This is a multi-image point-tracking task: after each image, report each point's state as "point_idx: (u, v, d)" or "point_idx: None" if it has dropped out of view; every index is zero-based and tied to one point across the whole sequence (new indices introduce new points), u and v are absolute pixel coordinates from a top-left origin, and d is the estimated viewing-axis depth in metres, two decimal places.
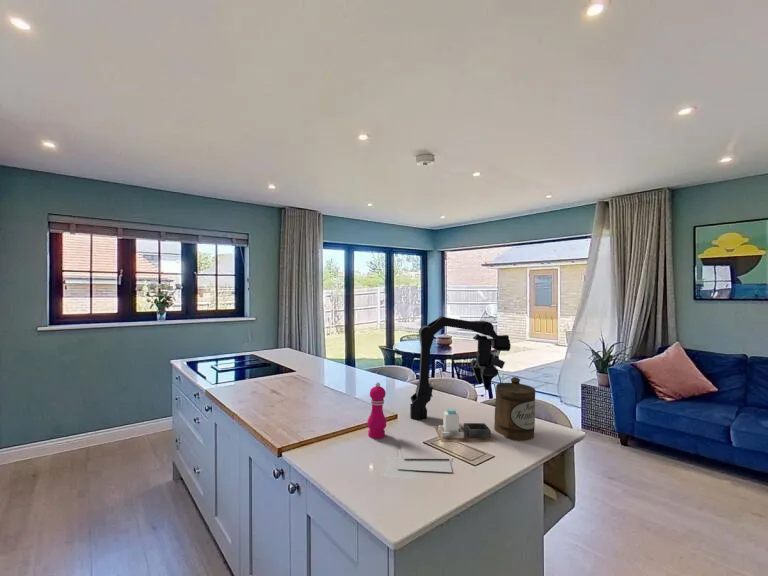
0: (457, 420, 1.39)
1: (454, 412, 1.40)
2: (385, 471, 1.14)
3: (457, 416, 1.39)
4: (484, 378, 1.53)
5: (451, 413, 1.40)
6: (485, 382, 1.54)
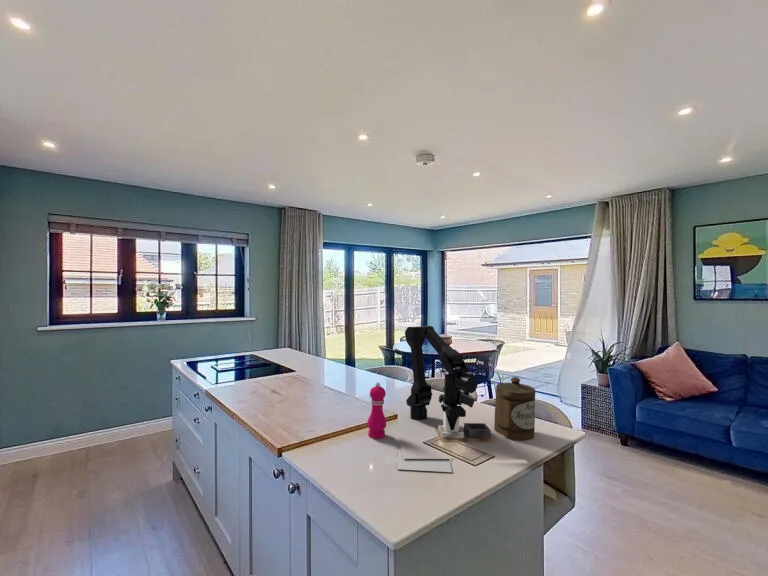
0: (457, 420, 1.39)
1: None
2: None
3: None
4: (449, 417, 1.37)
5: None
6: (450, 421, 1.38)
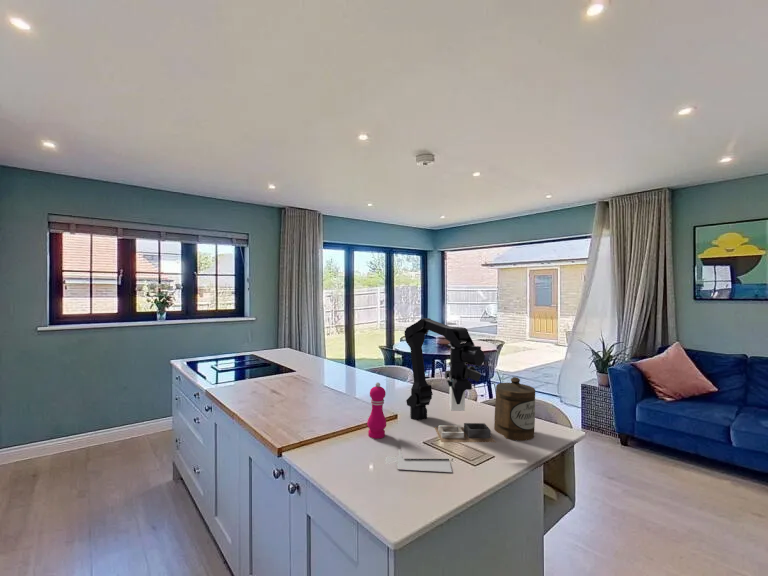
0: (463, 394, 1.39)
1: None
2: None
3: None
4: (455, 391, 1.37)
5: None
6: (456, 395, 1.38)
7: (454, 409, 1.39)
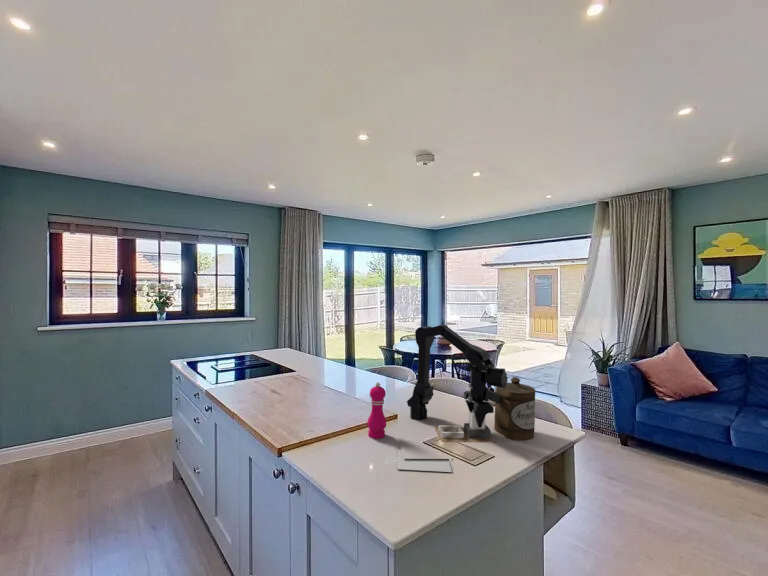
0: None
1: None
2: None
3: None
4: (477, 414, 1.37)
5: None
6: (478, 419, 1.37)
7: None
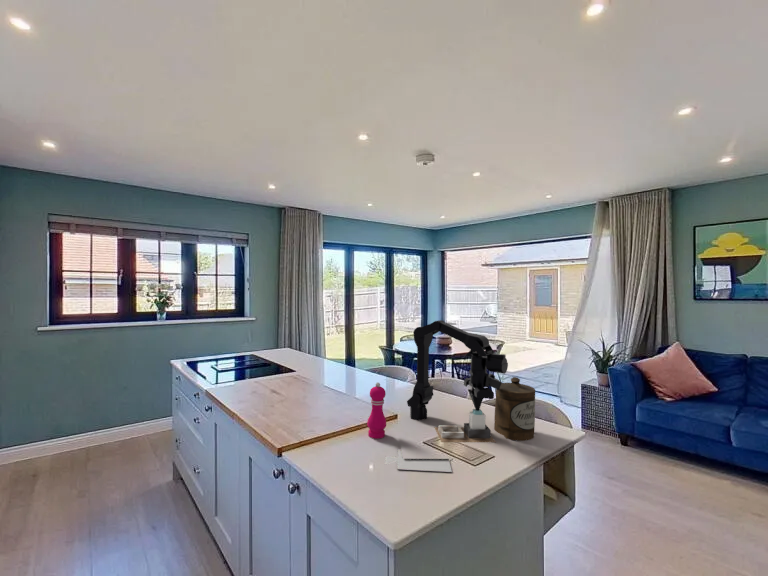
0: (483, 420, 1.40)
1: (480, 412, 1.41)
2: None
3: (483, 416, 1.40)
4: (474, 398, 1.40)
5: (477, 413, 1.40)
6: (476, 402, 1.40)
7: None
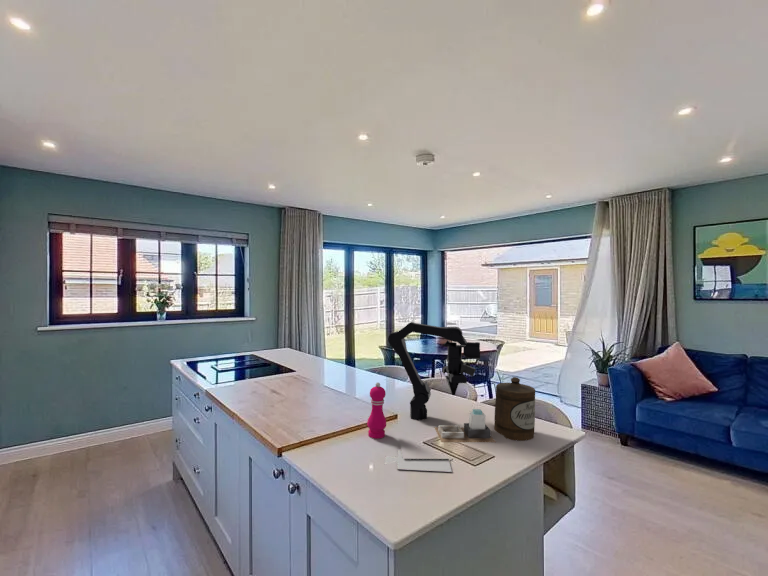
0: (483, 420, 1.40)
1: (480, 412, 1.41)
2: None
3: (483, 416, 1.40)
4: (450, 383, 1.53)
5: (477, 413, 1.40)
6: (451, 387, 1.54)
7: None
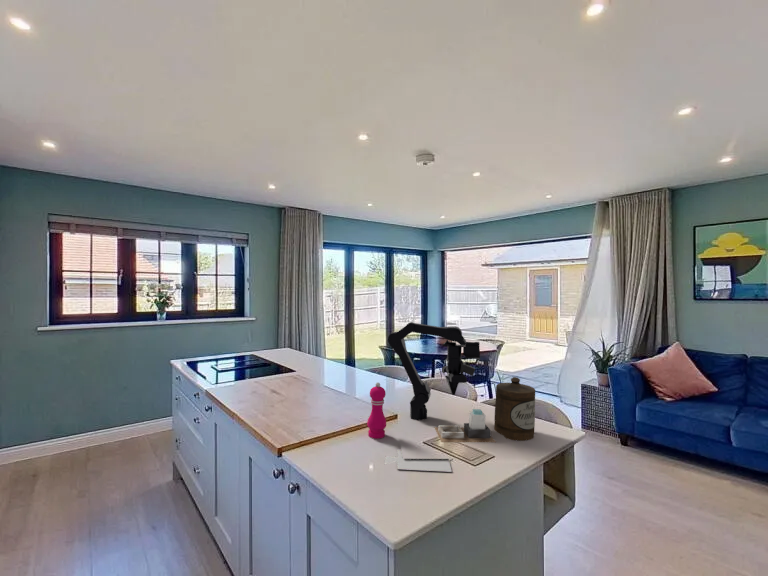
0: (483, 420, 1.40)
1: (480, 412, 1.41)
2: None
3: (483, 416, 1.40)
4: (450, 383, 1.53)
5: (477, 413, 1.40)
6: (451, 387, 1.54)
7: None
